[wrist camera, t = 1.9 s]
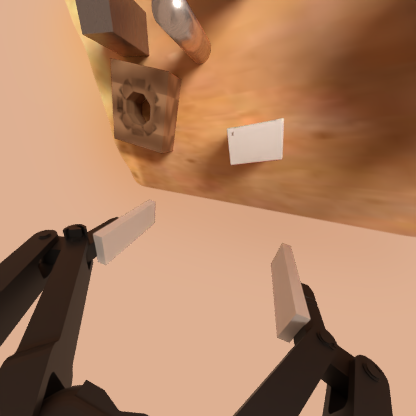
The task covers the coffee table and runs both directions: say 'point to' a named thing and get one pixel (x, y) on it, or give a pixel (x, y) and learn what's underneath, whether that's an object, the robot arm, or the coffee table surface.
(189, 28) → the round peg
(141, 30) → the square block
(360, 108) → the coffee table surface
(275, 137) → the small box
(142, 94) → the socket block
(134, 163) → the coffee table surface
